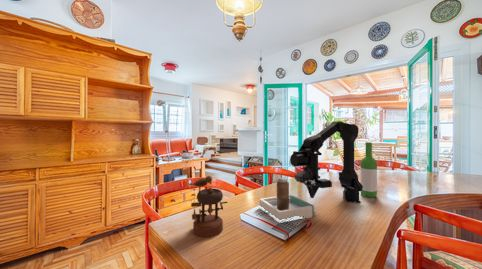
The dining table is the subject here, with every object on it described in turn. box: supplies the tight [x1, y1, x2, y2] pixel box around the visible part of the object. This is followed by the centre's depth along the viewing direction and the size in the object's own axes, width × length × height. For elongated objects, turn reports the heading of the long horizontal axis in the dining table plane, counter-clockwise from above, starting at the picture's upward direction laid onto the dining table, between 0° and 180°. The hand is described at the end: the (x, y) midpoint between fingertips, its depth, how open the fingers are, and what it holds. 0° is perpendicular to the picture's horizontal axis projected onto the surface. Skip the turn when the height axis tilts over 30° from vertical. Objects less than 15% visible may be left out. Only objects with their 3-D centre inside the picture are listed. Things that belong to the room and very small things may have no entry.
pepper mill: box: [276, 177, 290, 211], centre depth 85 cm, size 5×5×14 cm
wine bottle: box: [360, 141, 378, 198], centre depth 109 cm, size 8×8×30 cm
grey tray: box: [266, 194, 315, 216], centre depth 86 cm, size 16×15×4 cm
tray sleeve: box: [258, 195, 313, 220], centre depth 86 cm, size 16×17×4 cm
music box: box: [188, 175, 228, 239], centre depth 71 cm, size 15×11×20 cm
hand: (312, 197), depth 92 cm, fingers closed
